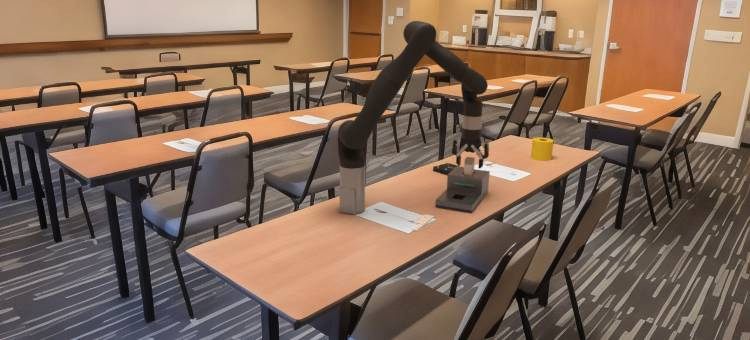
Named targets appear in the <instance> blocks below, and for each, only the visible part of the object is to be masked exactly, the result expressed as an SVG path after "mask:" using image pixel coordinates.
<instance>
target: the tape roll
mask: <svg viewBox="0 0 750 340" xmlns="http://www.w3.org/2000/svg"><path fill="white" fill-rule="evenodd" d="M553 149H554V139H552V138H548V137H534V138H532V145H531V154H530V159H532V160H534V161H540V162H541V161H542V162H549V161H551V160H552V157H553Z"/></svg>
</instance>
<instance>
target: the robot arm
mask: <svg viewBox="0 0 750 340" xmlns="http://www.w3.org/2000/svg"><path fill="white" fill-rule="evenodd" d="M402 33H403V39H404V41H405V43H407V44H406V46H405V47H404V48H403V50H402V52H401V53H400V54H399V55H398V56H397V57H396V58H394V60H392V61H391V62H389V63H388V64H387V65H386V66H384V67H383V68H382V69H381V70H380V72H378V75H377V76H376V77H375V79H374V80H373V82H372V83H371V85H370V87H369V90H368V92H367V96H366V99H365V100H364V101H365V102H364V104H363V106H362V108H361V110H360V111H359V113H358V114H357V116H356V117H355V118H354V119H350V120H348V119H347V120H345V121H344V122H342V123H341V124H340V125H339V127H338V131H337V153H338V159H339V191H338V192H339V193H338V194H339V195H338V196H339V197H338V198H339V213H343V214H349V215H356V214H360V213H363V212H364V211H365V210H366V158H365V155H364V149H363V147H364V146H365V144H366V143H367V142H368V140H369V138H370V136H371V135H372V133H373V131H374V129H375V127H376V125H377V124H378V122H379V120H380V119H381V118H382V116H383V114H384V113H385V112H386V110H387V109H388V108H389V106H390V104H391V103H392V101H394V99H395V98H396V96H397V95H398V93H399V92H400V90H401V88H402V87H403V86H404V85H405V84H404V83H405V82H406V81H407V79H408V78H409V77H410V75H411V74H412V72H413V71H414V69H415V68H416V66H417V65H418V64H419V63H420V61H421V60H422V59H423V58H424V56H427V57H428V58H429V59H431V60H432V61H433V62H434V63H436V65H438V66H439V67H440V68H441V69H442V70H443V71H444V72H445V73H446V74H447V75H449V76H450V77H451V78H452V79H454V80H455V81H456V82H459V83H461V84H460V86H461V87H460V88H461V89H460V90H461V95H462V101H463V114H462V115H463V116H462V124H461V139H458V138H455V139H453V141H452V150H451V155H453V156H456V157H455V159H456V161H455V163H456V164H455V165H457V166H460V167H461V163H462V161H461V160H462V154H463V152H465V153H472V154H474V153H475V155H476V156H477V157H478V169H482V168H483V166H484V160H485V159H488V157H489V156H490V155H489V154H490V146H489V145H490V144H489V141H488V142H487V141H486V142H482V127H483V117H482V115H483V103H482V101H481V100H480V99H479V98H478V95H479V96H481V95H483V94H484V93H486V91H487V90H488V87H489V86H488V80H487V79H486V78H485V76H483V74H480V72H478V71H476V70H475V69H474V68H472V67H470V66H468V64H467V63H466V62H465V61H464V60H462V59H461V58H460V57H459V56H457V54H455V53H454V52H452V51H451V50H449V49H448V48H446V47H445V46H443V45H442V44H440V43H439V42H438V41H437V40H436V39H437V29H436V28H435V26H434V25H433V24H432V23H428V22H425V21H421V20H413V21H410V22H408V23H406V25H405V26H404V29H403V32H402ZM459 144H460V146H461V148H460V149H459V150H458V146H459ZM480 147H482V148H483V151H484V152H483V151H482V150H481V148H480ZM483 153H484V154H483Z"/></svg>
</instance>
